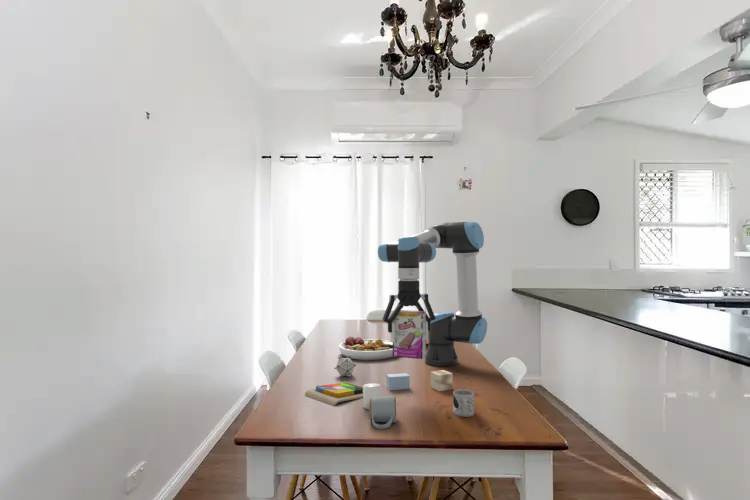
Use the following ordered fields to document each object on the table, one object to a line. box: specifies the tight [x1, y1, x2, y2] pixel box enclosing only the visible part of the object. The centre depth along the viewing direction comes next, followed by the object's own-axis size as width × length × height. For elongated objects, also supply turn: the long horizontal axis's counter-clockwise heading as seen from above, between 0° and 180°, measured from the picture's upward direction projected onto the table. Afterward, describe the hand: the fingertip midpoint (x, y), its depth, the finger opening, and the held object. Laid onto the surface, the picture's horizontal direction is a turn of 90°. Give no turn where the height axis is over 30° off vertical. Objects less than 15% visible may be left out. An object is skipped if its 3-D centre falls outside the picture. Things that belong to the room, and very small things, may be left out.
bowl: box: [339, 336, 394, 361], centre depth 240 cm, size 30×30×8 cm
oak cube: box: [429, 369, 454, 392], centre depth 181 cm, size 6×6×6 cm
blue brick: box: [386, 372, 411, 391], centre depth 182 cm, size 8×4×5 cm, turn 102°
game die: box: [333, 356, 357, 379], centre depth 199 cm, size 9×8×10 cm
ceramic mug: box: [368, 395, 397, 430], centre depth 146 cm, size 11×8×8 cm
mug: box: [452, 389, 475, 418], centre depth 152 cm, size 10×7×7 cm
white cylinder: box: [362, 382, 382, 410], centre depth 160 cm, size 6×6×7 cm
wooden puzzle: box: [304, 380, 363, 407], centre depth 174 cm, size 18×19×4 cm
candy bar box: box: [392, 309, 427, 360], centre depth 171 cm, size 11×5×16 cm, turn 71°
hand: (409, 340), depth 171 cm, fingers closed on candy bar box, 12 cm apart
